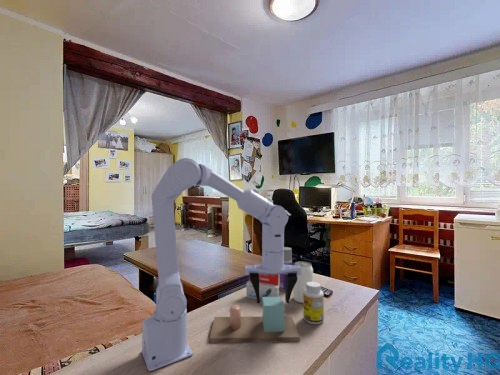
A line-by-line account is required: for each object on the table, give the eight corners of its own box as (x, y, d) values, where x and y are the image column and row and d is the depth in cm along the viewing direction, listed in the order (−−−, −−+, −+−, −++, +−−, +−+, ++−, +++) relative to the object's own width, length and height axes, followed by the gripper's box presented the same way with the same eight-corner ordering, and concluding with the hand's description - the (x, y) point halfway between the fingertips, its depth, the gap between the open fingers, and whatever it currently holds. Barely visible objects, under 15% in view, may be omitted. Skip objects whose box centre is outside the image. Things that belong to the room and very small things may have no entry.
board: (209, 342, 61) (209, 338, 61) (214, 320, 71) (214, 317, 71) (299, 341, 61) (299, 337, 61) (292, 319, 71) (292, 316, 71)
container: (291, 291, 90) (291, 250, 90) (278, 290, 91) (278, 249, 91) (292, 286, 95) (292, 247, 95) (279, 285, 96) (279, 246, 96)
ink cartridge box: (277, 303, 82) (277, 273, 82) (246, 297, 86) (246, 269, 86) (279, 300, 84) (279, 271, 84) (248, 294, 88) (248, 267, 88)
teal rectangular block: (264, 331, 64) (264, 305, 64) (262, 321, 69) (262, 296, 69) (284, 331, 64) (284, 305, 64) (281, 320, 69) (281, 296, 69)
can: (315, 298, 85) (315, 262, 85) (309, 305, 80) (309, 268, 80) (297, 293, 89) (297, 260, 89) (290, 300, 83) (290, 264, 83)
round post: (233, 330, 64) (233, 311, 64) (228, 325, 66) (228, 306, 66) (242, 327, 66) (242, 308, 66) (237, 322, 68) (237, 304, 68)
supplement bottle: (301, 315, 74) (301, 280, 74) (320, 314, 74) (319, 280, 74) (306, 325, 68) (306, 288, 68) (326, 325, 69) (326, 287, 69)
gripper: (297, 246, 70) (296, 294, 70) (245, 246, 70) (245, 295, 70) (302, 252, 63) (302, 306, 63) (245, 253, 63) (245, 307, 63)
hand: (272, 301), depth 66 cm, fingers open, 7 cm apart
